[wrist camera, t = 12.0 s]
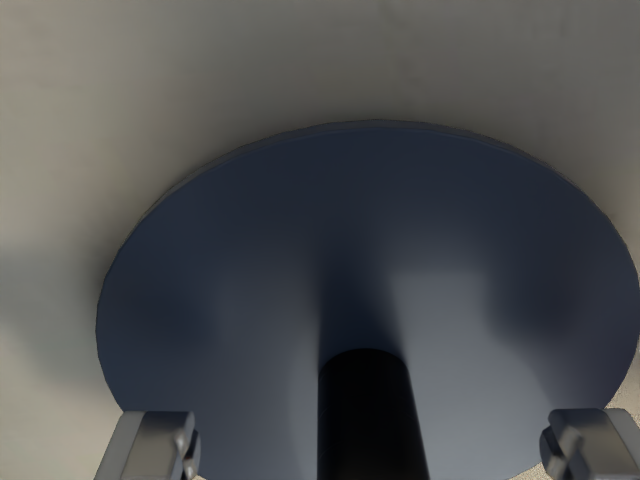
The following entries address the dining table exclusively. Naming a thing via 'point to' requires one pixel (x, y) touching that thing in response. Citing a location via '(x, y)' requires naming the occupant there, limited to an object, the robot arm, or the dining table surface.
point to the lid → (370, 305)
